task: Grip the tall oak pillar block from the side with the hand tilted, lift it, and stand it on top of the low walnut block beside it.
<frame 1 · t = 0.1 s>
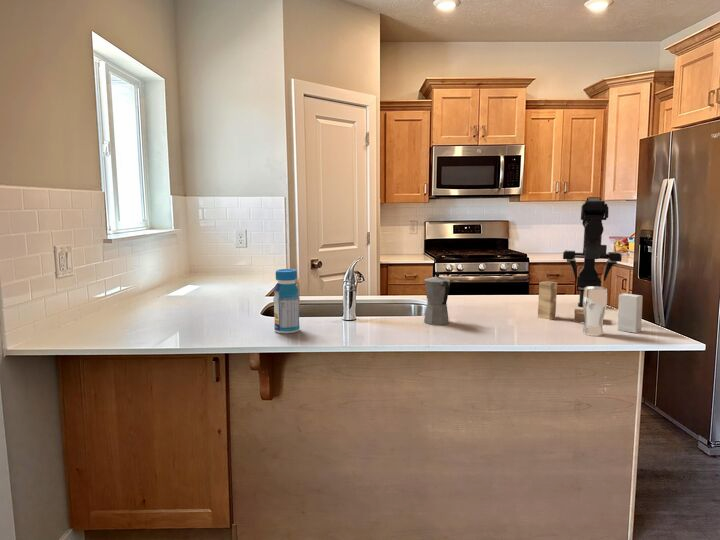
hand: (590, 280, 181), 15 cm above the worktop, tool pointing down, fingers open, 9 cm apart
beverage bottle: (287, 331, 166), on the worktop
walnut block: (588, 320, 182), on the worktop
beer glass: (592, 334, 164), on the worktop
skincare box: (628, 331, 168), on the worktop
pillar block: (546, 317, 187), on the worktop
coffeepot: (437, 323, 178), on the worktop
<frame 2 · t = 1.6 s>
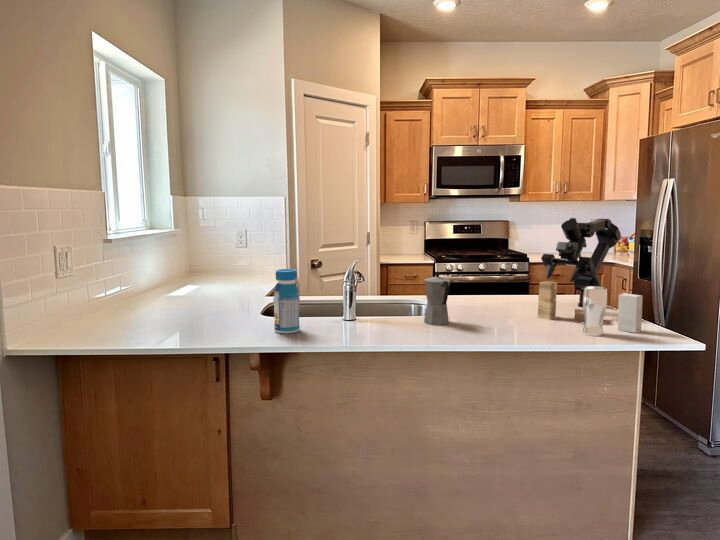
hand: (558, 279, 190), 13 cm above the worktop, tool tilted 45°, fingers open, 9 cm apart
nothing on the worktop moved.
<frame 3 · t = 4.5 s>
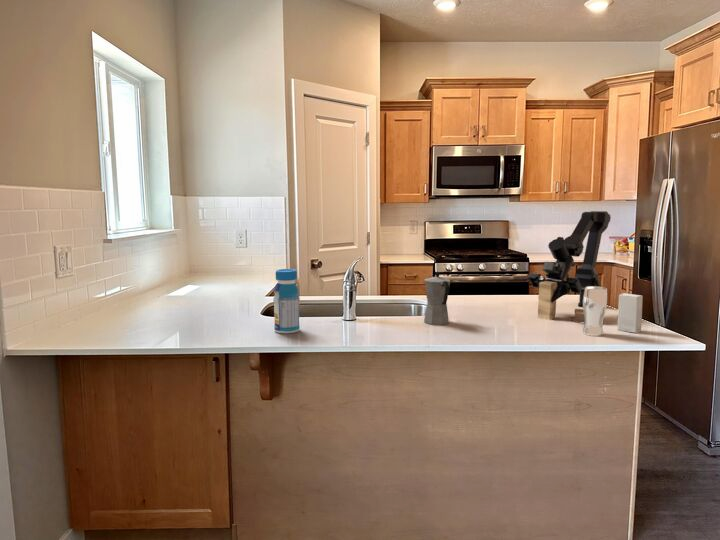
hand: (545, 300, 185), 7 cm above the worktop, tool tilted 45°, fingers closed on pillar block, 4 cm apart
pillar block: (546, 317, 187), on the worktop, touching gripper
everything else where it was.
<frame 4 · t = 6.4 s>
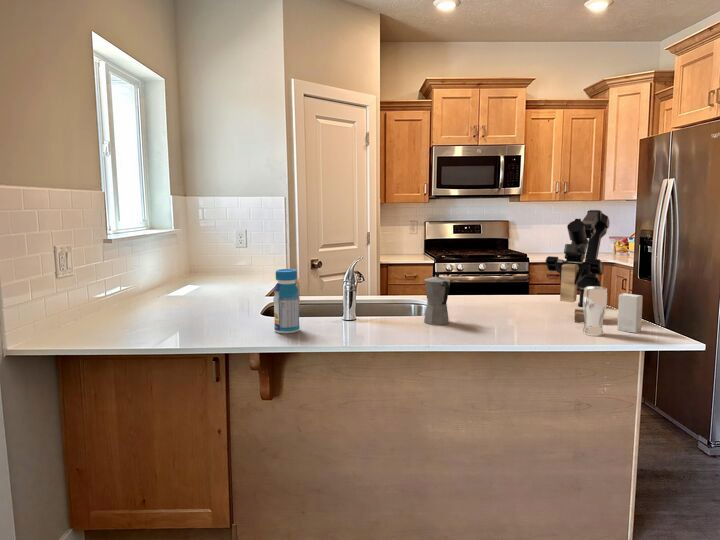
hand: (568, 283, 182), 13 cm above the worktop, tool tilted 45°, fingers closed on pillar block, 4 cm apart
pillar block: (568, 300, 184), point 7 cm above the worktop, touching gripper
everything else where it was.
when the fingers open (10 cm above the worktop, at t = 8.3 s): pillar block stays where it is, resting on walnut block.
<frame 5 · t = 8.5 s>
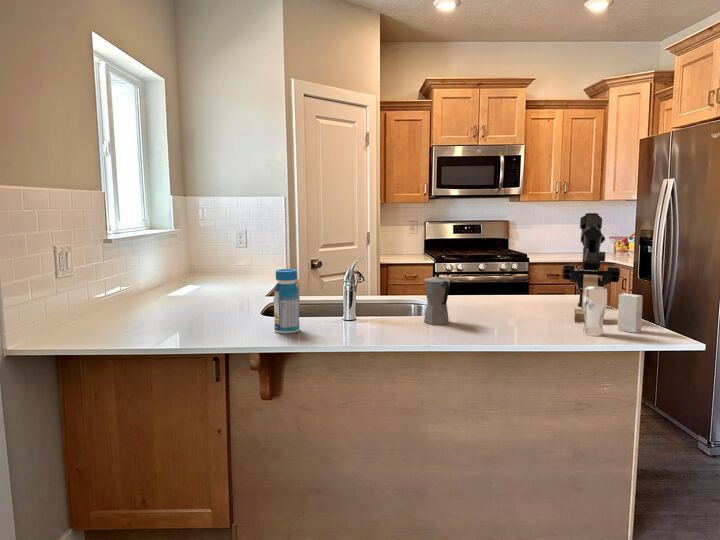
hand: (589, 292, 180), 11 cm above the worktop, tool tilted 45°, fingers open, 6 cm apart
pillar block: (588, 311, 182), point 3 cm above the worktop, touching walnut block
everything else where it was.
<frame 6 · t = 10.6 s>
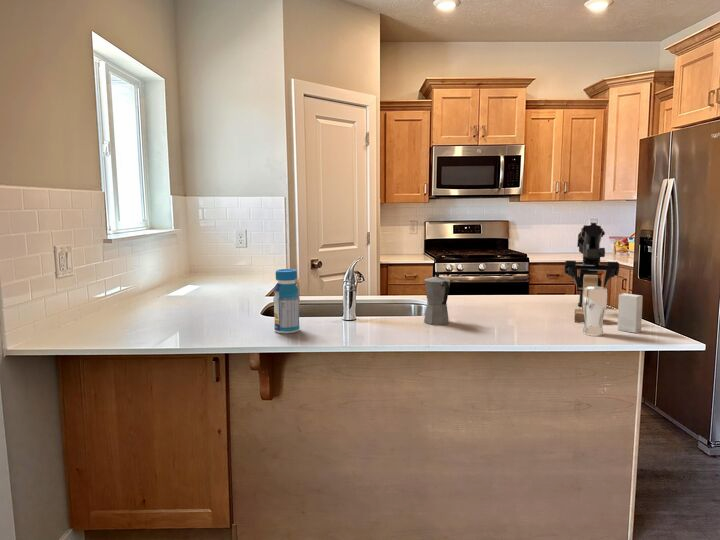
hand: (590, 286, 189), 11 cm above the worktop, tool tilted 40°, fingers open, 9 cm apart
nothing on the worktop moved.
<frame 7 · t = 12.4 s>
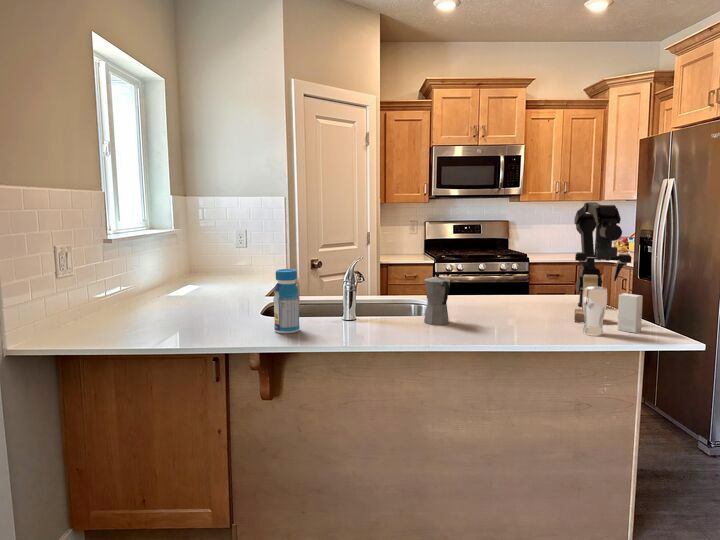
hand: (601, 280, 191), 13 cm above the worktop, tool pointing down, fingers open, 9 cm apart
nothing on the worktop moved.
at the end: pillar block 0.0 cm from the walnut block (horizontally); pillar block touching walnut block; pillar block tilted 0° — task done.
